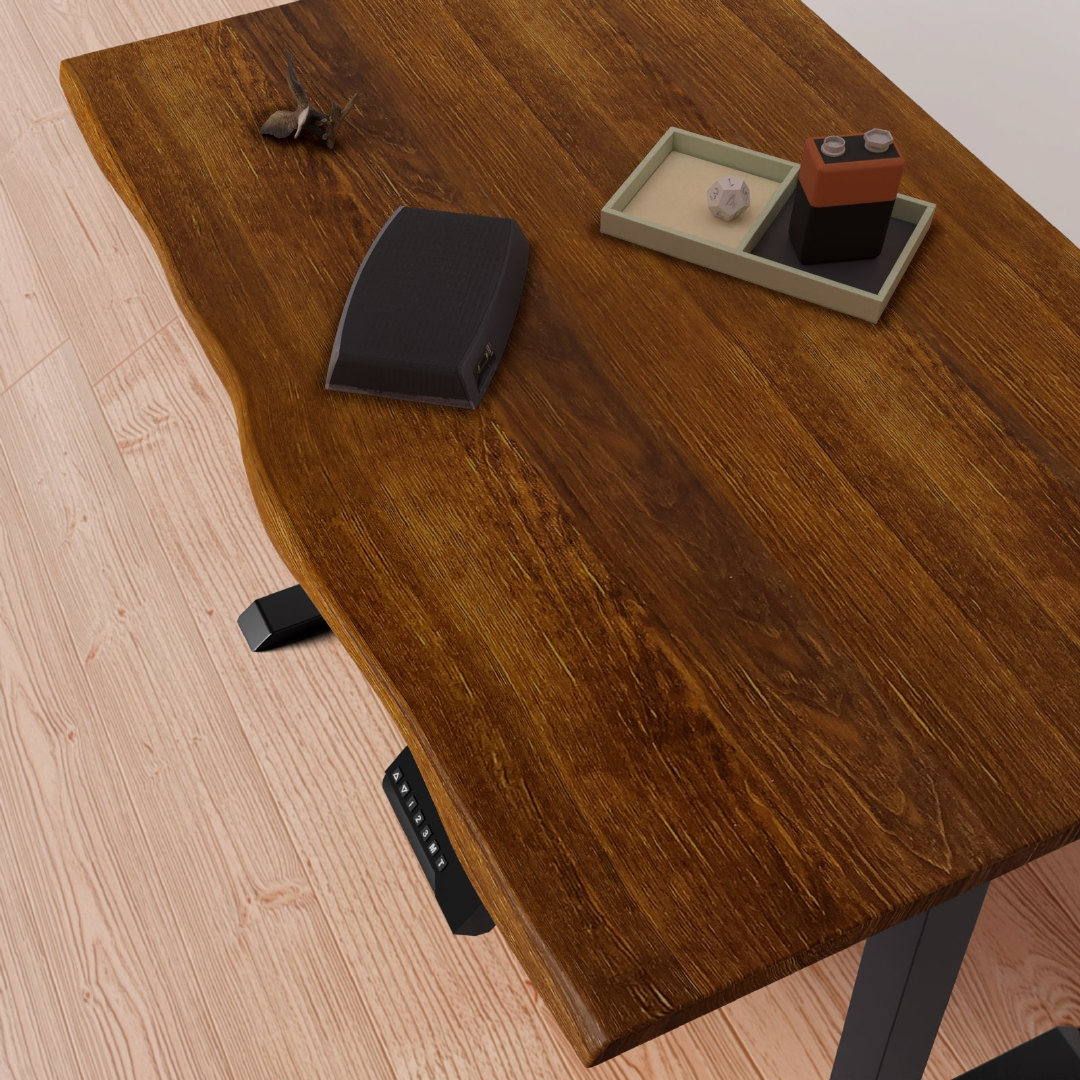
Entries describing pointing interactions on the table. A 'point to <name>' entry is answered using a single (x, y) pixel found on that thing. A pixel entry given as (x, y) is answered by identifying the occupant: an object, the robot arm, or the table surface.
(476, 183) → the table surface
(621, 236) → the sorting tray
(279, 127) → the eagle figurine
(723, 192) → the game die
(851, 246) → the battery
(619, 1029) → the table surface
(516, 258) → the hard drive
